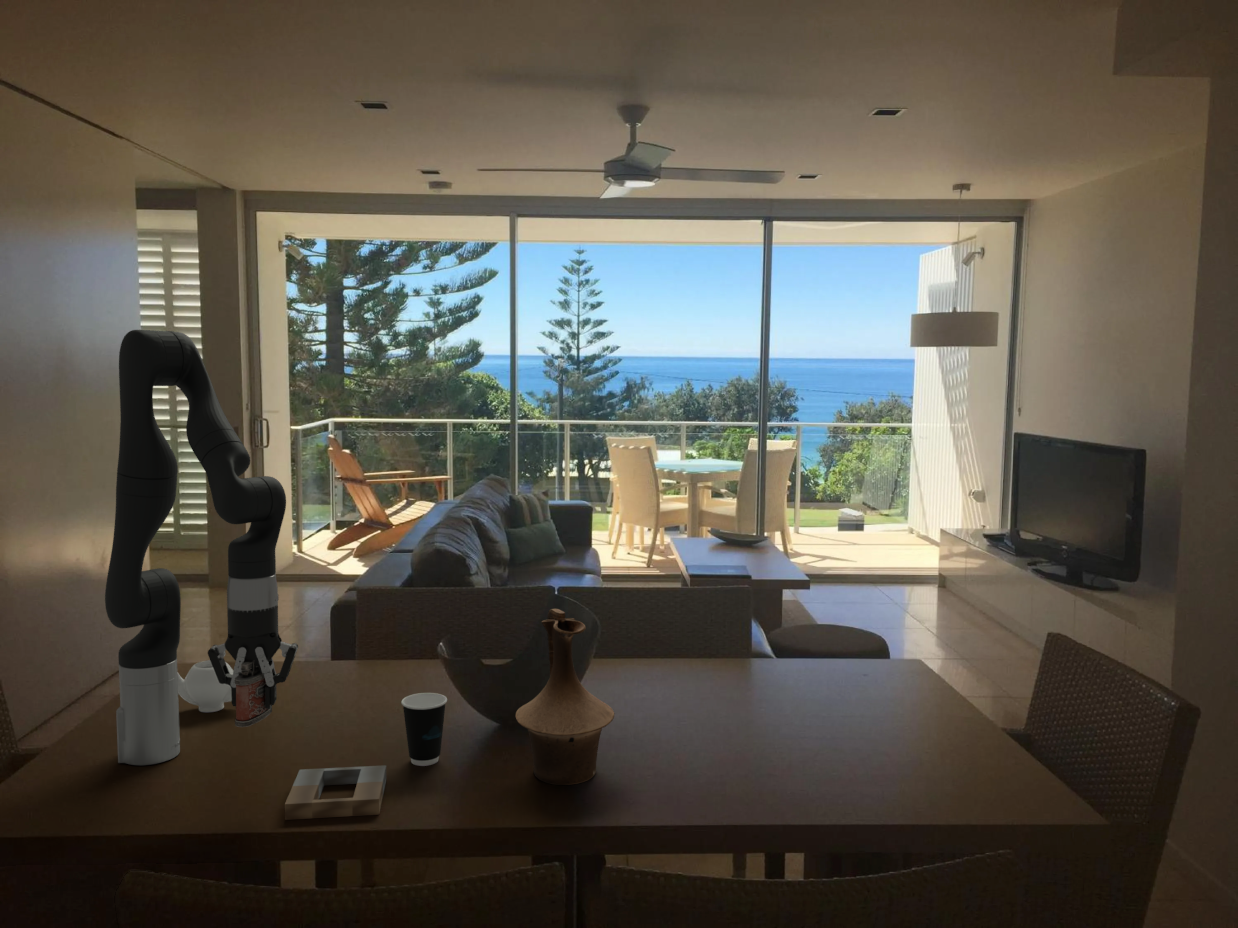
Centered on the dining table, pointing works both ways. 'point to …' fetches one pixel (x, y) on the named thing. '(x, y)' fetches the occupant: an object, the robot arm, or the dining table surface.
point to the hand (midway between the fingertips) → (254, 707)
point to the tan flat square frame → (364, 801)
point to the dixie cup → (424, 726)
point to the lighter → (250, 695)
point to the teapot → (204, 687)
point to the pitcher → (564, 713)
